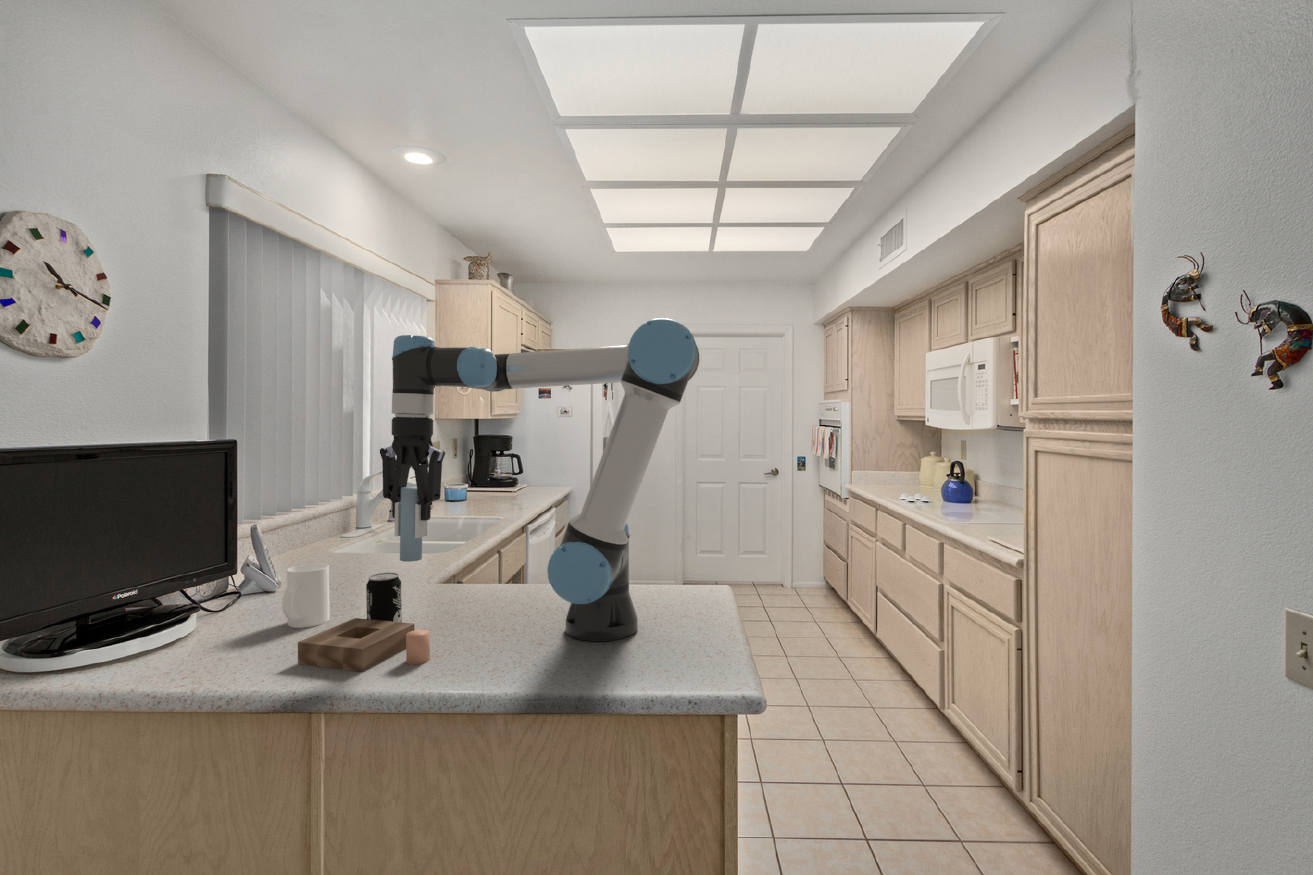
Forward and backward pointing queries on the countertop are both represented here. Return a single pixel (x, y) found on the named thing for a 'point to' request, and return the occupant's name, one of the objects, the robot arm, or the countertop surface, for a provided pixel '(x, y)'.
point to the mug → (307, 595)
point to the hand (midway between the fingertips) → (410, 535)
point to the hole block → (354, 644)
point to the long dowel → (409, 526)
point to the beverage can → (384, 597)
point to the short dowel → (417, 647)
